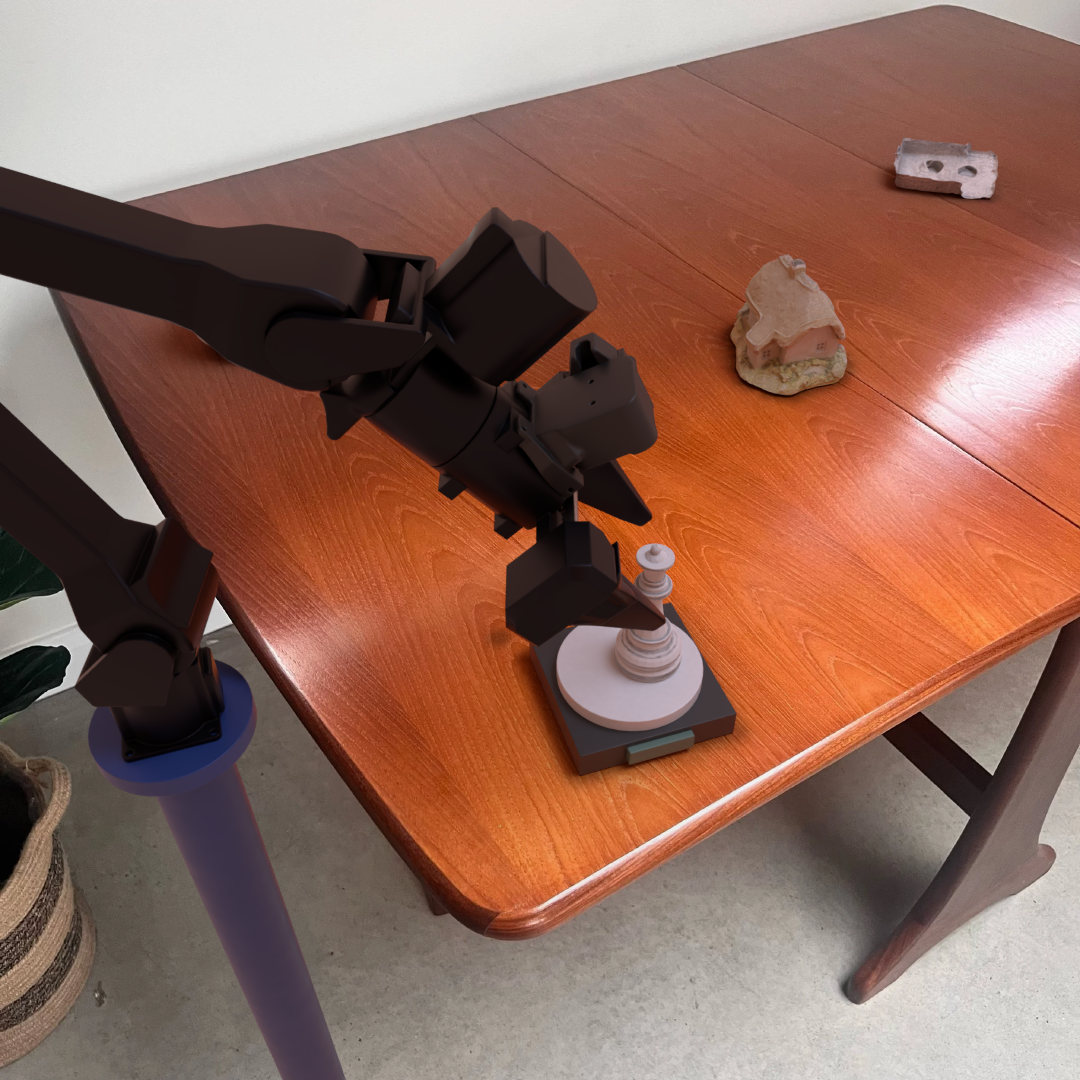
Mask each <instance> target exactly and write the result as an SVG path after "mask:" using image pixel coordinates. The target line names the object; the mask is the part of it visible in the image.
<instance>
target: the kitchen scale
mask: <svg viewBox="0 0 1080 1080" xmlns="http://www.w3.org/2000/svg"><path fill="white" fill-rule="evenodd" d="M663 613H664V616H665V617H666V618H667V619H668V620H669V621H670V623H671V625H672V627H673V628H674V629H675V630H676V631H677V632H678V634H679V636H680V638H681V641H682V649H681V651H682V658H681V663H680V666H679V668H678V669H677V671H676V672H675V673H674V674H673V675H671V676H670V677H668V678H666V679H664V680H660V681H655V682H644V681H640V680H636V679H633V678H631V677H629V676H627V675H626V674H625V673H623V672H622V671H621V670H620V668H619V667H618V666H617V663H616V661H615V645H616V638H617V635H618V632H619V631H620V630H621V628H612V627H602V626H601V627H600V626H568V627H566V628H565V629H563V630H562V631H561V632H559V633H558V634H556V635H555V636H553V637H552V638H551V639H549V640H548V641H546V642H545V643H543V644H542V645H540V646H539V647H538V646H535V645H532V644H530V643H529V642H528V645H529V646H528V647H529V648H528V649H529V659H530V661H531V663H532V665H533V668H534V670H535V672H536V675H537V677H538V679H539V682H540V684H541V686H542V689H543V691H544V692H543V693H544V694H545V696H546V698H547V701H548V703H549V706H550V708H551V710H552V713H553V716H554V718H555V720H556V723H557V725H558V727H559V729H560V732H561V734H562V736H563V739H564V741H565V743H566V746H567V749H568V751H569V753H570V755H571V757H572V758H571V759H572V761H573V762H574V765H575V768H576V770H577V772H578V774H579V776H585V775H588V774H591V773H595V772H598V771H602V770H605V769H606V770H607V769H609V768H613V767H616V766H619V765H623V764H626V763H627V764H628V765H629V766H630V765H634V764H638V763H641V762H645V761H648V760H652V759H655V758H659V757H663V756H666V755H667V756H668V755H670V754H674V753H677V752H681V751H684V750H687V749H691V748H694V745H695V744H699V743H702V742H705V741H708V740H712V739H716V738H720V737H722V736H728V735H730V734H733V733H734V732H735V727H736V726H735V725H736V719H737V711H736V710H735V708H734V705H732V703H731V701H730V699H729V698H728V696H727V695H726V693H725V691H724V689H723V688H722V686H721V684H720V683H719V681H718V679H717V677H716V675H715V673H714V672H713V671H712V669H711V667H710V666H709V663H708V662H707V661H706V659H705V657H704V655H703V654H702V652H701V650H700V649H699V647H698V645H697V644H696V642H695V641H694V639H693V637H692V635H691V633H690V632H689V630H688V629H687V627H686V625H685V624H684V622H683V620H682V618H681V617H680V615H679V613H678V612H677V610H676V608H675V606H674V604H673V603H672V602H671V601H670V602H666V603H663Z"/></svg>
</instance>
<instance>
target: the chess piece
mask: <svg viewBox="0 0 1080 1080" xmlns="http://www.w3.org/2000/svg"><path fill="white" fill-rule="evenodd" d="M635 561H636V564H637V565H638V566H639V567H640V568H641V569H642V570H643V571H642V572H640V573H639V574H638V575H636V577H635V579H634V581H633V584H634V585H635V586H636V587H637V588H638V589H639V590H640V591H641V592H642V593H643V594H644V595H645V596H646V597H647V598H648V599H649V600H650V601H651V602H652V603H653V604H654V605H655V606H656V607H657V608H658V609H659V610H660V611H661V613H662V614H663V615H664V613H663V604H664V603H663V600H664V599H666V598H668V597H669V596H670V595H671V594H672V591H673V588H674V587H673V586H674V585H673V583H674V582H673V580H672V578H671V577H670V576H669V575H668V574H667V573H666V572H667V571H669V570H670V569H671V568H672V567H673V566H674V564H675V562H676V555H675V553H674V551H673V550H672V549H671V548H670V547H669V546H667V545H665V544H663V543H647V544H645V545H642V546H641V547H639V548H638V550H637V552H636V554H635ZM665 618H666V617H665ZM681 649H682V641H681V638H680V636H679V634H678V632H677V631H676V630H675V629H674V628H673V627H672V625H671V623H670V621H669V620H668V619H667V618H666V623H665V624H664V625H663V626H661V627H660V628H658V629H657V630H655V631H644V630H634V629H623V628H621V630H620V631H619V632H618V635H617V638H616V645H615V661H616V663H617V666H618V667H619V668H620V670H621V671H622V672H623V673H625V674H626V675H627V676H629V677H631V678H633V679H636V680H640V681H644V682H655V681H660V680H664V679H666V678H668V677H670V676H671V675H673V674H674V673H675V672H676V671H677V669H678V668H679V666H680V663H681V658H682V651H681Z"/></svg>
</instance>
